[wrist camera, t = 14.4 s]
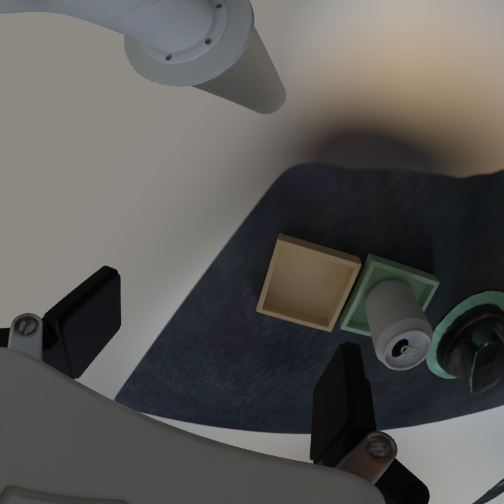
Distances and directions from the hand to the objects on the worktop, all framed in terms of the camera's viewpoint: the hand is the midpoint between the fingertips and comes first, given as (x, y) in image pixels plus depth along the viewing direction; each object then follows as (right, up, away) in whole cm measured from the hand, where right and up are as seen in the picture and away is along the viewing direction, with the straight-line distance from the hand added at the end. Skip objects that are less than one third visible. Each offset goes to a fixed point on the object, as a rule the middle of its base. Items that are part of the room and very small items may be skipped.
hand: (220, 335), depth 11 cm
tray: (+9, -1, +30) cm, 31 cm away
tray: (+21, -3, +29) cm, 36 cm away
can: (+21, -3, +28) cm, 36 cm away
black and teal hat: (+41, -12, +29) cm, 52 cm away
